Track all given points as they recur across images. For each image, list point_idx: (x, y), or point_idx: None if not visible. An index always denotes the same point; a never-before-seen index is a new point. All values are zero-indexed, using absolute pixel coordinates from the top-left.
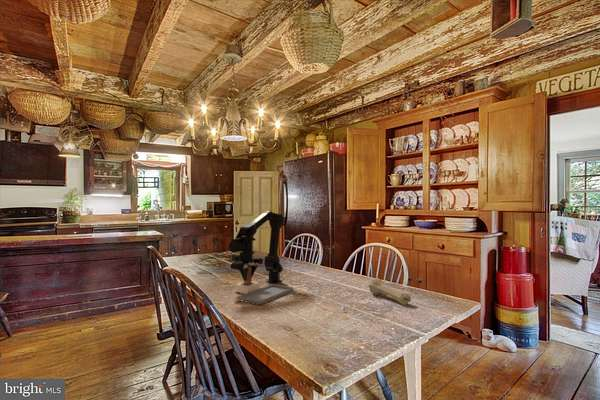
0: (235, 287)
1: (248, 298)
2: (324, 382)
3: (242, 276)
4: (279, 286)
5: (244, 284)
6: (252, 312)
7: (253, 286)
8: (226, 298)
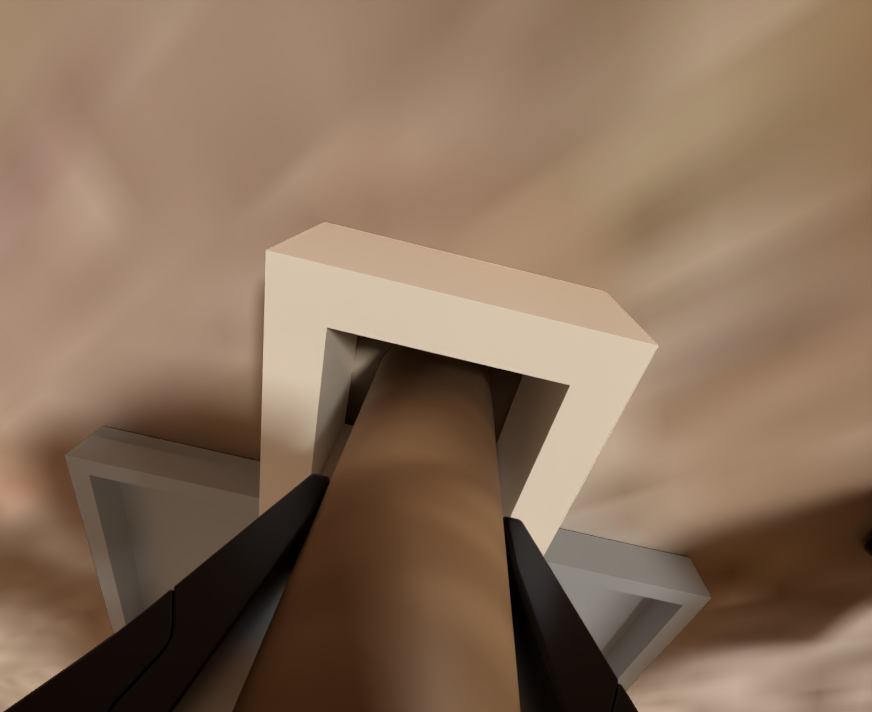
0: (294, 241)
1: (102, 567)
2: None
3: (230, 549)
4: (627, 651)
5: (355, 422)
6: (15, 616)
7: None
8: (39, 273)
